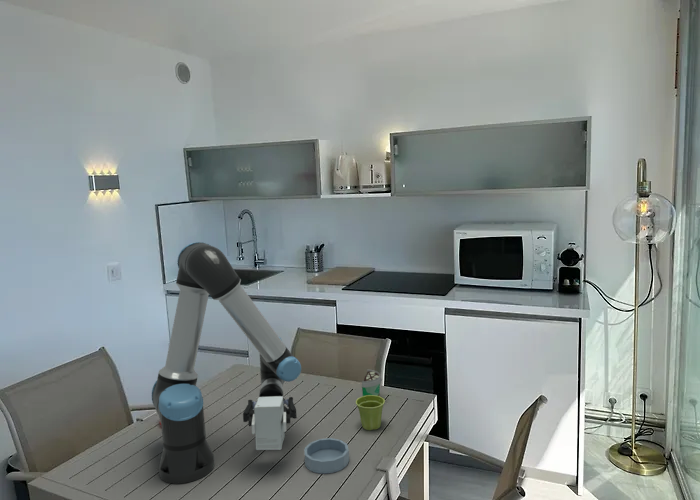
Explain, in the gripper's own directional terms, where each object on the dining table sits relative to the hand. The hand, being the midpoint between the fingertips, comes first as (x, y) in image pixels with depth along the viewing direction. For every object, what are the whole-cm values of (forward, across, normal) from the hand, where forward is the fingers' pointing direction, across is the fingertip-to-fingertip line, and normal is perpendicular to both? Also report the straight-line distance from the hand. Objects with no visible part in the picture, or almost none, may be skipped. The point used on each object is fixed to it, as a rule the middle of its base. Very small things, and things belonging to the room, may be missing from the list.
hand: (269, 428), depth 140 cm
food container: (-41, -36, -13) cm, 56 cm away
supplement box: (-5, 0, -7) cm, 9 cm away
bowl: (-5, -16, -14) cm, 22 cm away
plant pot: (-23, -32, -13) cm, 41 cm away
